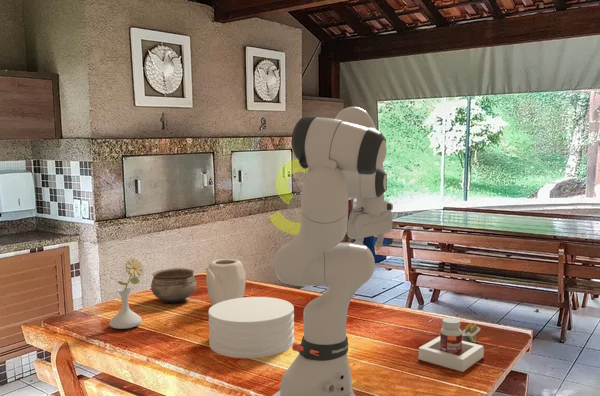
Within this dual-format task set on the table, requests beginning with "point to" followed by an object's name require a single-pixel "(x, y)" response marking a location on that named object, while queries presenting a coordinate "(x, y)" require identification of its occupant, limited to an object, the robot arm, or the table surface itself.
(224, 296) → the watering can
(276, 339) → the plate stack
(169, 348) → the table surface
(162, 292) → the cooking pot
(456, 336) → the pill bottle
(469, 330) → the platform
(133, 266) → the flower in vase
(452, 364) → the holder block
